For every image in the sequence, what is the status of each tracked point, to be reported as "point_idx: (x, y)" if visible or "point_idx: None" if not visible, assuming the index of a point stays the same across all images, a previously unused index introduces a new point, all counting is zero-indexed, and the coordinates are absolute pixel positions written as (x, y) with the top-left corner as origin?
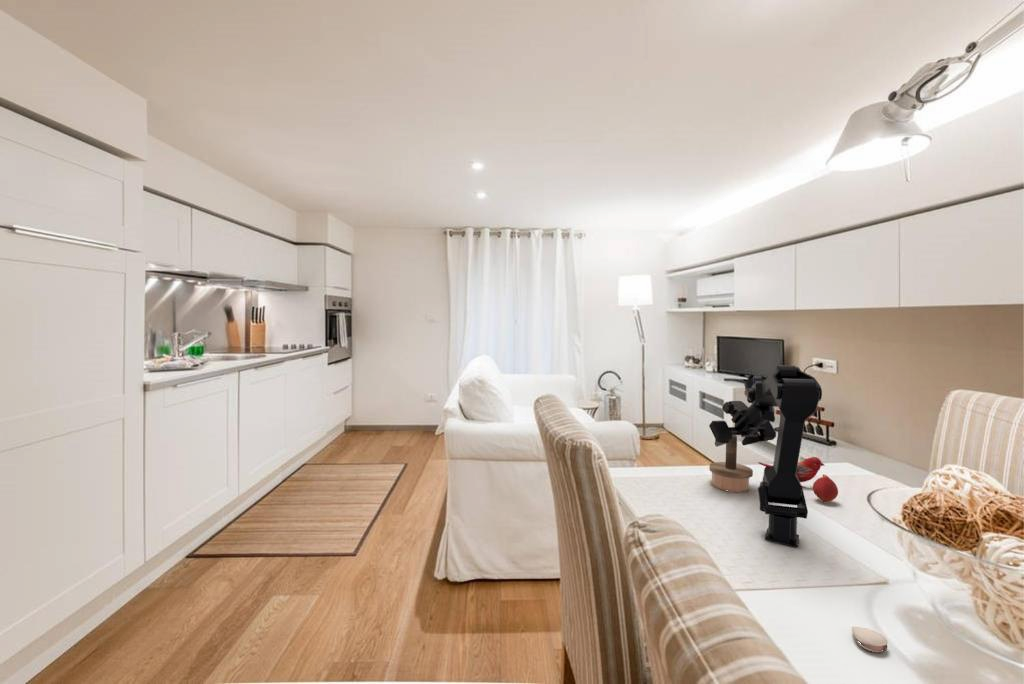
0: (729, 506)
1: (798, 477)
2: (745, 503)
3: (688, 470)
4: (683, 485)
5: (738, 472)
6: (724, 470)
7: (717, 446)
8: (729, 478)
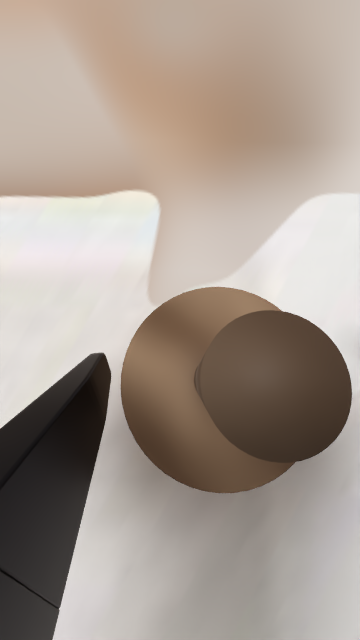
0: (92, 592)
1: None
2: (172, 566)
3: (146, 223)
4: (48, 361)
5: (221, 455)
6: (165, 417)
7: (107, 384)
8: None
